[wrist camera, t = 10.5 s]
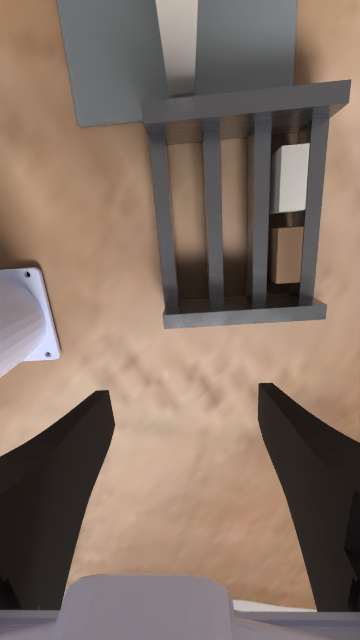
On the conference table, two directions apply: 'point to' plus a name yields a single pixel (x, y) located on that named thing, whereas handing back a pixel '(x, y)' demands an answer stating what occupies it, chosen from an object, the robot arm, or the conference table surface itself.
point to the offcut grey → (288, 178)
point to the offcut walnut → (284, 254)
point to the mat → (147, 55)
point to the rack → (258, 125)
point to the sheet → (178, 43)
